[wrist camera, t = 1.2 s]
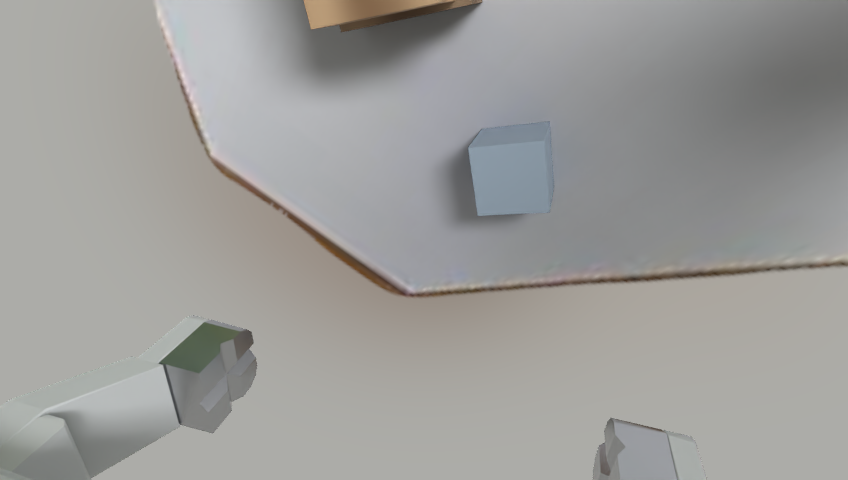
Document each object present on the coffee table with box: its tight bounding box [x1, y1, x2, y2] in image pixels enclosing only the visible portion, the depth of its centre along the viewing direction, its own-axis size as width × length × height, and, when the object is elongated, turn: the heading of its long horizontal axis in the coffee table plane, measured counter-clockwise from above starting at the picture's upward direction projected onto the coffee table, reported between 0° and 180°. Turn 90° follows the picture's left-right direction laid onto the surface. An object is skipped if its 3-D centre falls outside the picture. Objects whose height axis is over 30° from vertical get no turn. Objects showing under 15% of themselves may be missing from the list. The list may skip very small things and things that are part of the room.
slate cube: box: [468, 121, 554, 216], centre depth 34 cm, size 5×5×5 cm
